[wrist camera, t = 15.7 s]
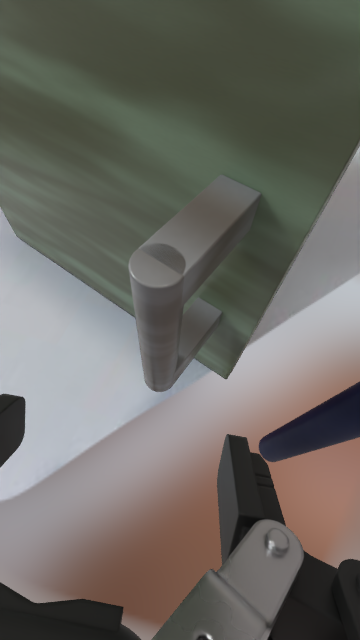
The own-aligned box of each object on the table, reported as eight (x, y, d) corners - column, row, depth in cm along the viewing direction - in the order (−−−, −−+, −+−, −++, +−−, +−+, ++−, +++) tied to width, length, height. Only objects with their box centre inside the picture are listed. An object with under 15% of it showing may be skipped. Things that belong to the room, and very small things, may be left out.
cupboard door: (184, 441, 22) (436, -144, 2) (-34, 270, 29) (-494, -260, 9) (232, 370, 25) (526, -149, 5) (24, 231, 32) (-216, -232, 12)
